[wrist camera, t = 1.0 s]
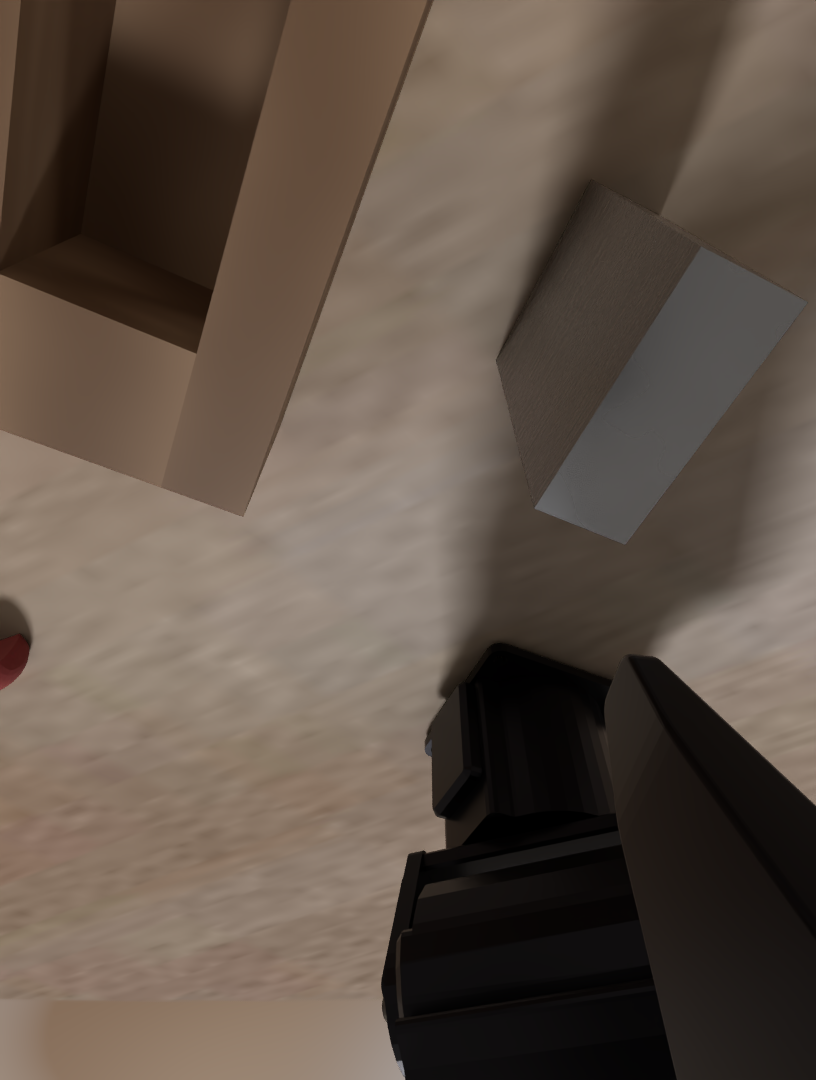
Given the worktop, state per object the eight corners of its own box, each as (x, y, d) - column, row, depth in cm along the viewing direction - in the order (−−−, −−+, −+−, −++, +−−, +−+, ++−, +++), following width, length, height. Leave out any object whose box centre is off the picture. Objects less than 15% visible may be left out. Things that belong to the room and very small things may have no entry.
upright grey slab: (659, 215, 17) (808, 302, 11) (557, 388, 20) (625, 545, 13) (591, 179, 17) (701, 246, 10) (495, 360, 19) (533, 508, 13)
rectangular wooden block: (496, -174, 13) (529, -286, 9) (279, 428, 21) (243, 517, 16) (78, -438, 12) (-112, -720, 8) (3, 320, 19) (-115, 387, 15)
